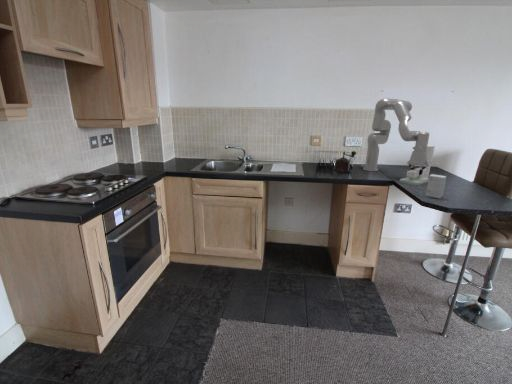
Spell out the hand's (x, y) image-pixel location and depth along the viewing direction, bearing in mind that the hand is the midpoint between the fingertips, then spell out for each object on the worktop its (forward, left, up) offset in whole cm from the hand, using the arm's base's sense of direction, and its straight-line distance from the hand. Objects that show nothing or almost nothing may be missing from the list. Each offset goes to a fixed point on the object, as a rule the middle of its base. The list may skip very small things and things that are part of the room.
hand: (415, 174), depth 207 cm
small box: (+23, -30, -6) cm, 38 cm away
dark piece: (-51, -12, -6) cm, 53 cm away
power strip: (0, 0, -1) cm, 1 cm away
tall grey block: (-1, +19, -6) cm, 20 cm away
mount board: (0, 0, -6) cm, 6 cm away
